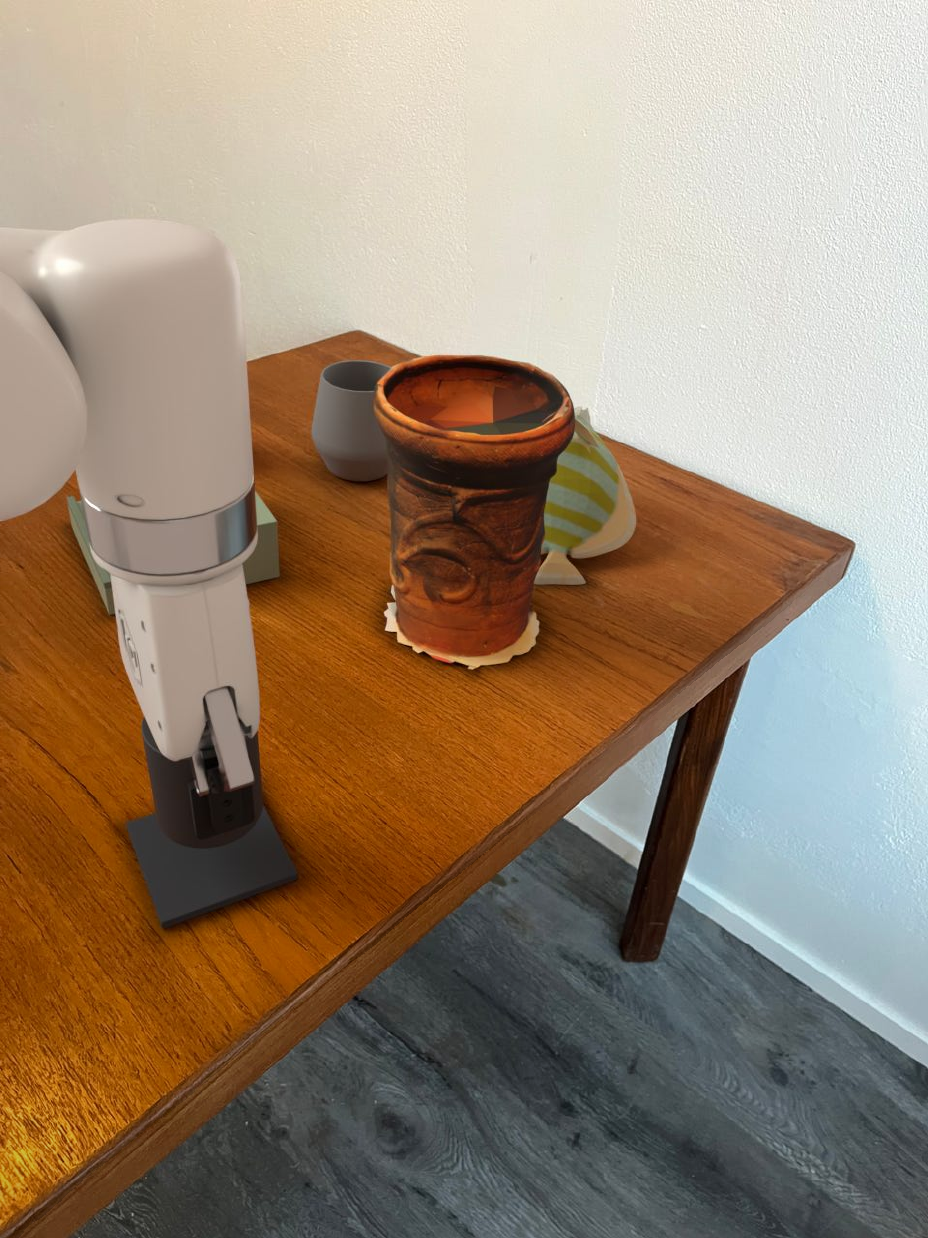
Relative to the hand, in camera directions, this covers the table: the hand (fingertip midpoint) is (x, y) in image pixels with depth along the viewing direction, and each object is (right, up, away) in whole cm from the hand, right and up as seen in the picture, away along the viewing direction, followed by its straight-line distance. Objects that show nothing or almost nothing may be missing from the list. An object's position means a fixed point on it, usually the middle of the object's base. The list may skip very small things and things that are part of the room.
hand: (206, 784), depth 55 cm
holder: (0, -2, +1) cm, 2 cm away
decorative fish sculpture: (+22, +17, +37) cm, 46 cm away
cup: (+4, +24, +43) cm, 50 cm away
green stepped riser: (-10, +15, +29) cm, 34 cm away
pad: (-1, -5, +3) cm, 6 cm away
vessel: (+14, +9, +25) cm, 30 cm away
